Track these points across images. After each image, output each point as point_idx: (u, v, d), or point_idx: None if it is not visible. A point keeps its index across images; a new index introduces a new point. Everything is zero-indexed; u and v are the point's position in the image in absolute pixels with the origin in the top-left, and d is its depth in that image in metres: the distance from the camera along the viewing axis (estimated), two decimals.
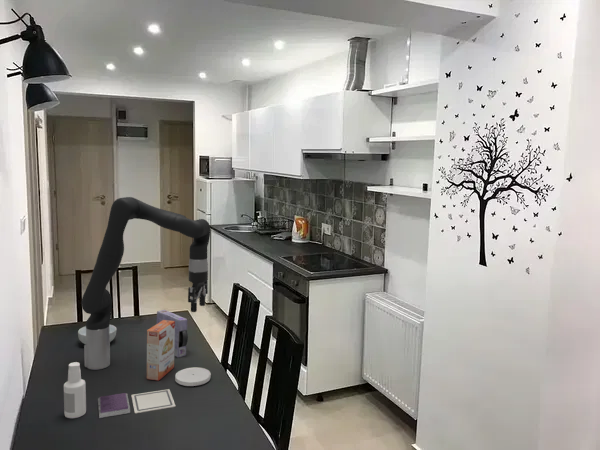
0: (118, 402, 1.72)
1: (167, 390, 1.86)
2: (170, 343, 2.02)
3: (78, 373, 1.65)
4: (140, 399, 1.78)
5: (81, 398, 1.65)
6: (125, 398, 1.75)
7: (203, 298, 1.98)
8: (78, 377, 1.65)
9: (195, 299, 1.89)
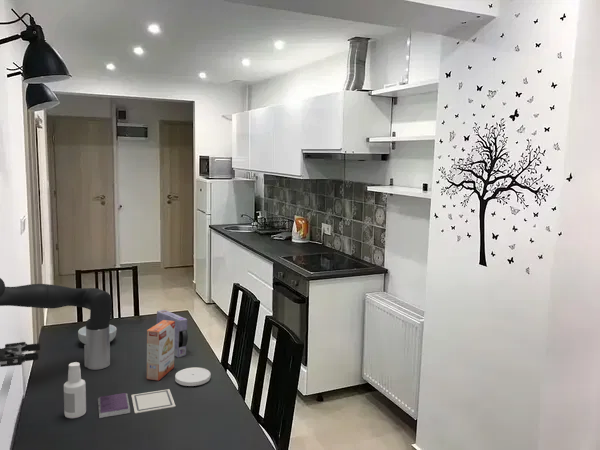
0: (118, 402, 1.72)
1: (167, 390, 1.86)
2: (170, 343, 2.02)
3: (78, 373, 1.65)
4: (140, 399, 1.78)
5: (81, 398, 1.65)
6: (125, 398, 1.75)
7: None
8: (78, 377, 1.65)
9: None
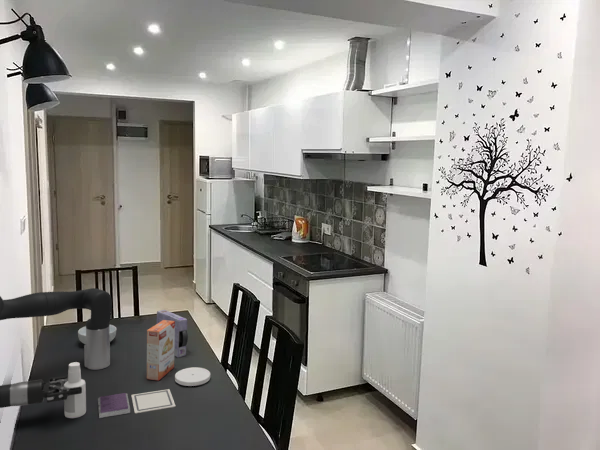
0: (118, 402, 1.72)
1: (167, 390, 1.86)
2: (170, 343, 2.02)
3: (78, 373, 1.65)
4: (140, 399, 1.78)
5: (81, 398, 1.65)
6: (125, 398, 1.75)
7: None
8: (78, 377, 1.65)
9: None
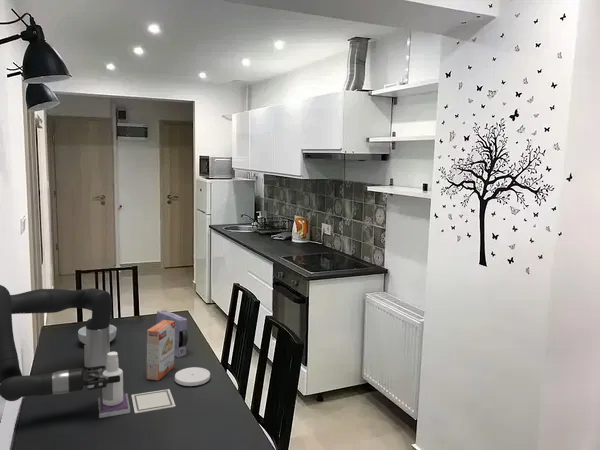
0: None
1: (167, 390, 1.86)
2: (170, 344, 2.02)
3: (116, 362, 1.70)
4: (140, 399, 1.78)
5: (119, 387, 1.70)
6: (125, 398, 1.75)
7: None
8: (116, 366, 1.70)
9: None
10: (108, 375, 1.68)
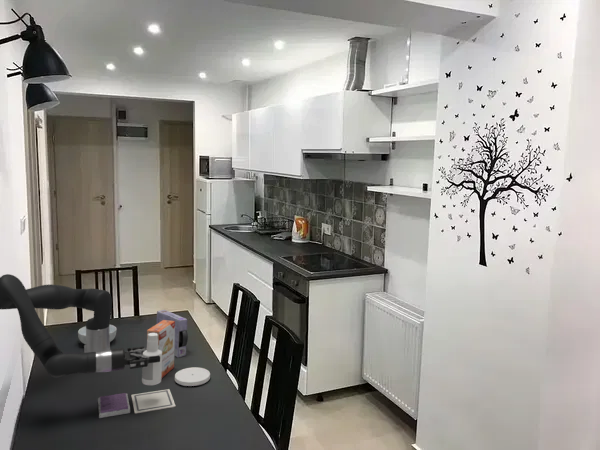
0: (118, 402, 1.72)
1: (167, 390, 1.86)
2: (170, 343, 2.02)
3: (156, 343, 1.74)
4: (140, 399, 1.78)
5: (158, 367, 1.75)
6: (125, 398, 1.75)
7: None
8: (156, 346, 1.74)
9: None
10: (148, 355, 1.73)
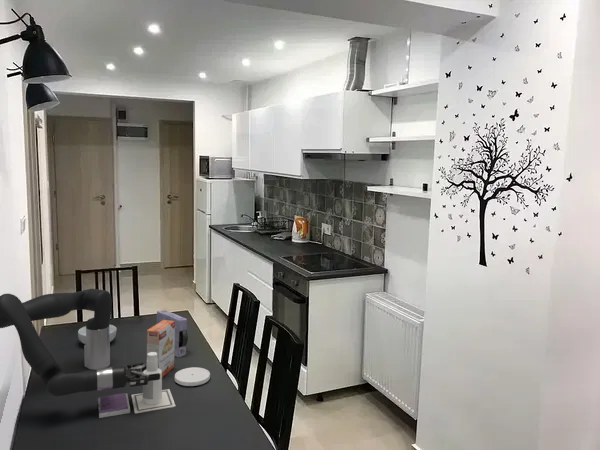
0: (118, 402, 1.72)
1: (167, 390, 1.86)
2: (170, 343, 2.02)
3: (156, 362, 1.75)
4: (140, 399, 1.78)
5: (159, 386, 1.76)
6: (125, 398, 1.75)
7: None
8: (156, 366, 1.75)
9: None
10: None
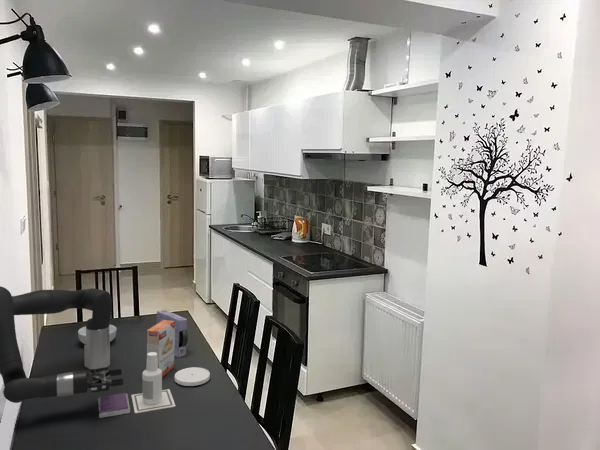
0: (118, 402, 1.72)
1: (167, 390, 1.86)
2: (170, 343, 2.02)
3: (156, 362, 1.75)
4: (140, 399, 1.78)
5: (158, 386, 1.76)
6: (125, 398, 1.75)
7: None
8: (156, 366, 1.75)
9: (105, 375, 1.75)
10: (148, 375, 1.73)
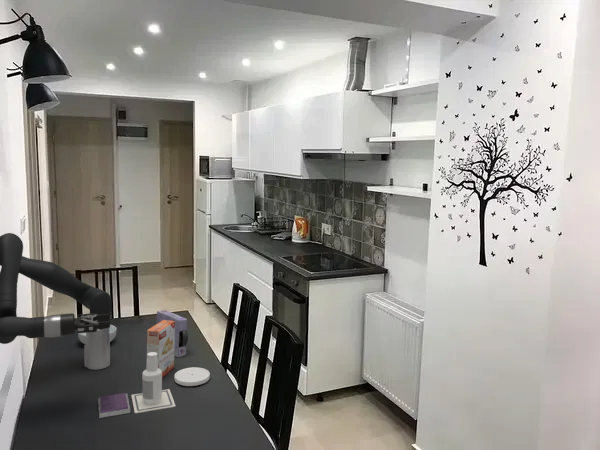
0: (118, 402, 1.72)
1: (167, 390, 1.86)
2: (170, 343, 2.02)
3: (156, 362, 1.75)
4: (140, 399, 1.78)
5: (158, 386, 1.76)
6: (125, 398, 1.75)
7: None
8: (156, 366, 1.75)
9: None
10: (148, 375, 1.74)
